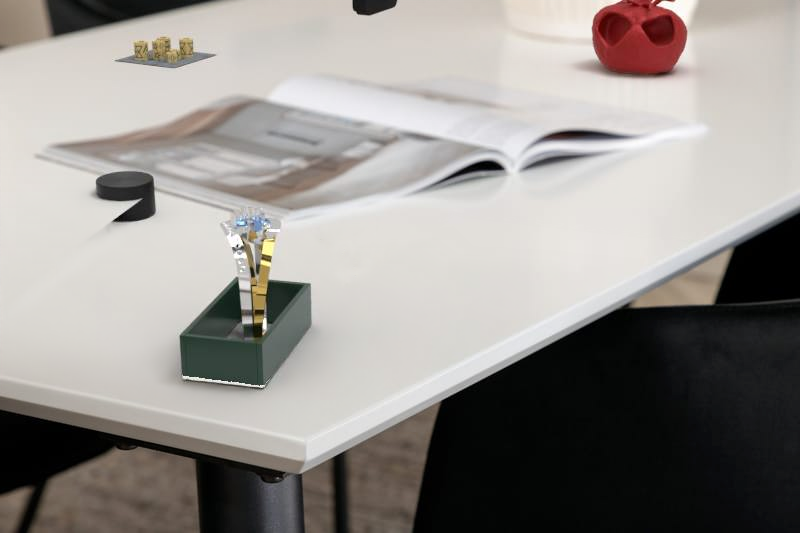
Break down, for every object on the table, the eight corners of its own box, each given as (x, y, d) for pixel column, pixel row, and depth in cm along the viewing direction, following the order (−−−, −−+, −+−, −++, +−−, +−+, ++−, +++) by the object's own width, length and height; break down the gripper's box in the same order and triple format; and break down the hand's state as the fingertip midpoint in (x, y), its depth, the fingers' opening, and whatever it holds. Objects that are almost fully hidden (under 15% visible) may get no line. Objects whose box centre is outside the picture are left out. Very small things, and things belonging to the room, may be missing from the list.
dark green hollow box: (181, 379, 65) (179, 335, 64) (238, 316, 72) (236, 276, 71) (263, 389, 64) (262, 343, 63) (311, 324, 71) (310, 283, 70)
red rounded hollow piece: (599, 56, 142) (605, -28, 138) (690, 63, 138) (697, -23, 135) (580, 74, 133) (585, -15, 129) (676, 82, 130) (684, -10, 126)
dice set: (132, 59, 139) (131, 42, 138) (160, 51, 143) (159, 34, 142) (169, 64, 136) (168, 46, 136) (197, 55, 141) (196, 38, 140)
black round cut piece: (88, 219, 88) (85, 185, 87) (113, 202, 92) (110, 168, 91) (141, 223, 87) (139, 189, 86) (164, 206, 91) (162, 172, 90)
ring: (236, 326, 71) (226, 190, 68) (293, 325, 71) (285, 189, 68) (221, 381, 65) (209, 234, 62) (283, 380, 65) (275, 232, 62)
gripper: (40, -422, 52) (75, -1, 58) (425, -449, 45) (419, 32, 51) (149, -399, 58) (170, -22, 64) (501, -420, 51) (487, 5, 57)
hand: (280, 2), depth 58 cm, fingers open, 9 cm apart
